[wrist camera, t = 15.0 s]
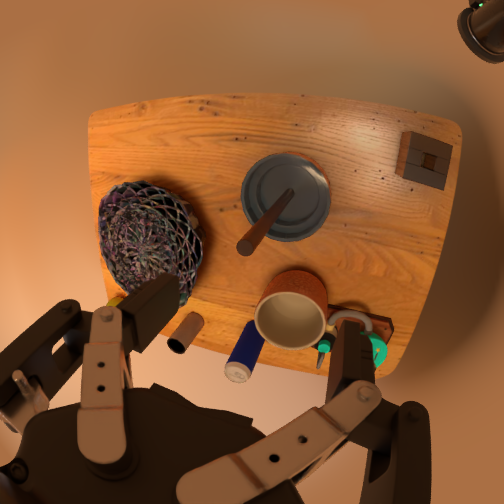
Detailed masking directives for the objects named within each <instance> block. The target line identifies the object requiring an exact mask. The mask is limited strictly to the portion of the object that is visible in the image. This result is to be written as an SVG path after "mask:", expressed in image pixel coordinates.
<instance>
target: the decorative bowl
mask: <svg viewBox="0 0 504 504" xmlns="http://www.w3.org/2000/svg"><path fill="white" fill-rule="evenodd" d="M98 225H99V231H98V232H99V238H100V243H99V244H100V249H101V254H102V256H103V258H104V260H105V262H106V265H107V268H108V269H109V271H110V273H111V274H112V276H113V278H114V280H115V281H116V283H117V284H118V285H120V286H121V288H122V289H123V290H124V291H125V292H126V293H127V294H128V295H129V294H130V293H132V292H133V291H134V290H135V289H137V288H138V287H139V286H140V285H141V284H142V283H144V282H146V281H148V280H151V279H156V278H157V277H158V276H159V275H161V274H162V273H163V272H165V273H169V274H172V275H176V276H178V277H179V291H180V304H179V308H181V307H182V306H184V305H186V303H187V300H188V298H189V297H190V296H191V293H192V289H193V288H194V285H195V283H196V280H197V277H198V275H197V270H198V267H199V265H200V263H201V260H202V258H203V252H202V251H203V246H204V242H205V238H206V235H205V231H204V230H203V228H202V227H201V226H200V225H199V221H198V218H197V217H196V215H195V214H194V209H193V207H192V206H191V204H190V203H189V202H187V201H184V199H183V198H182V197H181V196H180V195H178V194H174V193H171V191H170V190H168V189H166V188H163V187H160V186H156V185H152V184H150V183H148V182H146V181H144V180H143V181H137V182H133V183H129V182H124V183H123V184H122V185H114V186H113V187H112V188H111V189H110V190H109V191H108V192H107V194H106V195H105V196H104V197H103V198H102V199H101V202H100V206H99V217H98ZM179 308H178V309H179Z"/></svg>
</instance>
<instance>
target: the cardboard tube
mask: <svg viewBox="0 0 504 504" xmlns="http://www.w3.org/2000/svg"><path fill="white" fill-rule="evenodd" d="M203 325H204V320H203V318H202V317H201V316H200V315H199V314H197V313H190V314H188V315H187V317H186V318H185V319H184V320H183V322H182V323H181V324H180V325H179V327H178V328H177V329H176V330H175V331H174V333H173V334H172V335H171V336H170V338H169V339H168V340H167V344H168V347H169V348H170V349H171V350H172V351H173V352H175V353H178V354H183V353H184V352H185V351H186V350H187V348H188V347H189V345H190V344H191V343H192V341H193V340H194V338H195V337H196V336H197V334H198V333H199V331H200V330H201V328H202V327H203Z"/></svg>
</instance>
